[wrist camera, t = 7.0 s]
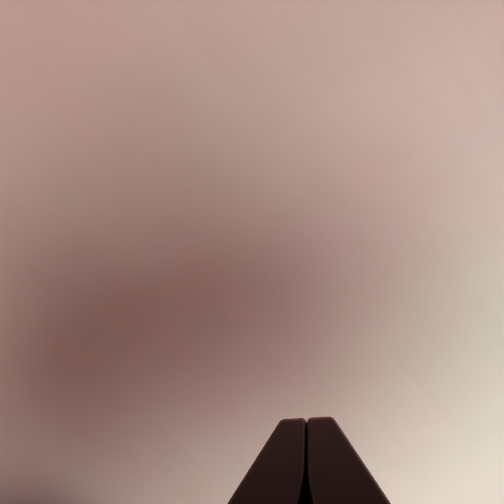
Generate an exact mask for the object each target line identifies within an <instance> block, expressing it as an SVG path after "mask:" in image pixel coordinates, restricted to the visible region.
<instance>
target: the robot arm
mask: <svg viewBox="0 0 504 504" xmlns="http://www.w3.org/2000/svg"><path fill="white" fill-rule="evenodd" d="M228 504H391V503H390V502H389V500H388V499H387V497H386V496H385V494H384V493H383V491H382V490H381V488H380V487H379V485H378V484H377V482H376V481H375V479H374V478H373V476H372V475H371V473H370V472H369V470H368V469H367V467H366V466H365V464H364V463H363V461H362V460H361V458H360V457H359V455H358V454H357V452H356V451H355V449H354V448H353V446H352V445H351V443H350V442H349V440H348V439H347V437H346V436H345V434H344V433H343V431H342V430H341V428H340V427H339V425H338V424H337V422H336V421H335V420H334V419H333V418H332V417H314V418H309V419H308V421H307V422H306V420H305V419H303V418H296V419H283V420H281V421H280V422H279V423H278V425H277V427H276V428H275V430H274V431H273V433H272V434H271V436H270V438H269V439H268V441H267V442H266V444H265V445H264V447H263V449H262V450H261V452H260V453H259V455H258V456H257V458H256V460H255V461H254V463H253V464H252V466H251V468H250V469H249V471H248V472H247V474H246V475H245V477H244V479H243V480H242V482H241V483H240V485H239V486H238V488H237V490H236V491H235V493H234V494H233V496H232V497H231V499H230V501H229V502H228Z"/></svg>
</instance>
